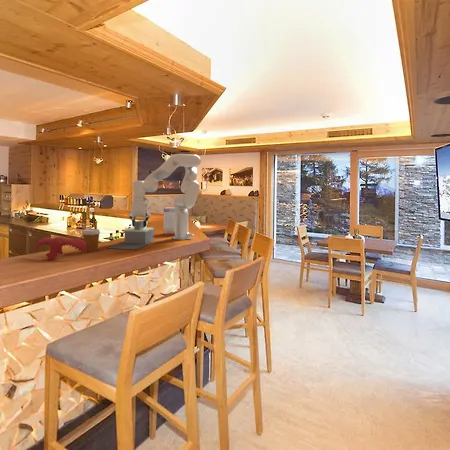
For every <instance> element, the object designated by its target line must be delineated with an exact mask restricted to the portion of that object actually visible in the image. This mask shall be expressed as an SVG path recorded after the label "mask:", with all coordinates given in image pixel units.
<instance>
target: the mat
mask: <svg viewBox="0 0 450 450" xmlns="http://www.w3.org/2000/svg"><path fill="white" fill-rule="evenodd" d="M148 245H149V243H148V244H135V243H125V242H119V243H116V244H114V245H110V246H109V247H107V248H106V250H107V249H109V250H126V251H137V250H139V249H142V248H144V247H146V246H148Z"/></svg>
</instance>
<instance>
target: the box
mask: <svg viewBox="0 0 450 450" xmlns="http://www.w3.org/2000/svg"><path fill="white" fill-rule="evenodd" d="M152 242H154V230H151V231H148V232H130V231H124V243H135V244H148V245H149V244H150V243H152Z"/></svg>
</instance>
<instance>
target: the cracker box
mask: <svg viewBox="0 0 450 450" xmlns="http://www.w3.org/2000/svg"><path fill="white" fill-rule="evenodd" d="M163 235H174V236H175V207H174V206H172V207H170V206H169V207H168V206H166V207H163Z"/></svg>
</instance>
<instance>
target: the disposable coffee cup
mask: <svg viewBox="0 0 450 450" xmlns="http://www.w3.org/2000/svg"><path fill="white" fill-rule="evenodd" d="M81 233H82V237H83V241H85V242H86V244H87V249H86V251H85V252H88V253H93V252H97V251H99V250H98V249H99V239H100V235H101V234H100V233H101V232H100V229H98V228H86V229H83V230H82V232H81Z"/></svg>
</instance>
